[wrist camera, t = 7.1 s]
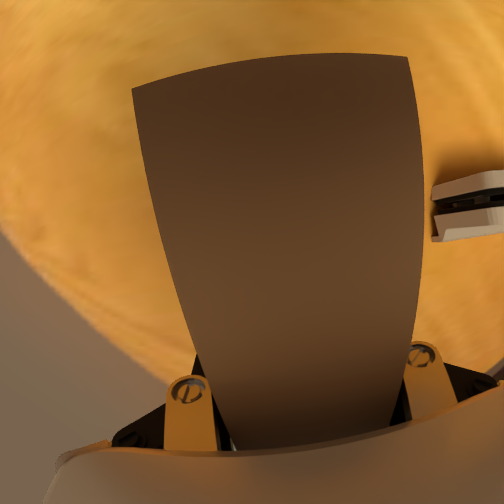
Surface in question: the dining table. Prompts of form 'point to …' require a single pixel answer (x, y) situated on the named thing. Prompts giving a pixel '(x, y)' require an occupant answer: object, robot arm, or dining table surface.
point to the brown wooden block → (292, 235)
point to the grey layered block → (470, 206)
